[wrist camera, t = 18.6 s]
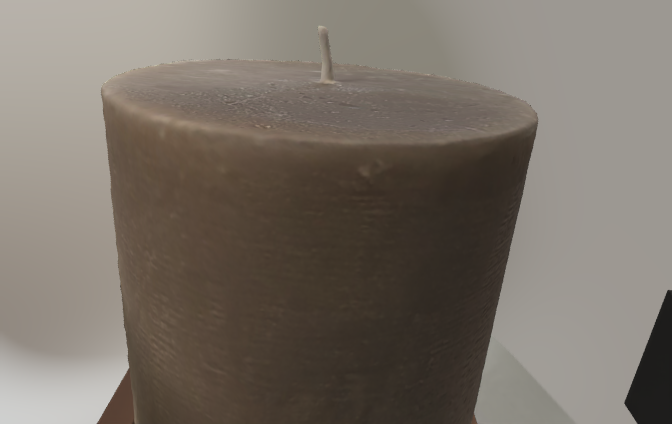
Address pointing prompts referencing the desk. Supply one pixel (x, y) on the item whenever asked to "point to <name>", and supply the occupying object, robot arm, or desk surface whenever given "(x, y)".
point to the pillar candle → (310, 238)
